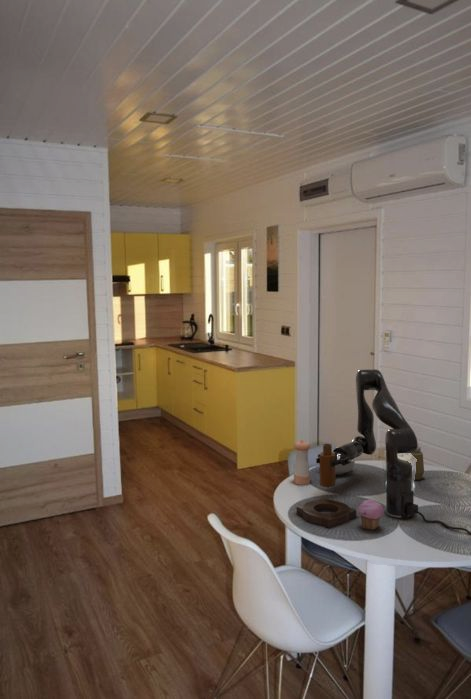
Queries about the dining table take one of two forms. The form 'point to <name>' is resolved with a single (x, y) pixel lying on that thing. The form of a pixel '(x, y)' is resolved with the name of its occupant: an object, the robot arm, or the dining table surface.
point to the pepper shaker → (301, 463)
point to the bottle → (327, 467)
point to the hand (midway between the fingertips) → (324, 462)
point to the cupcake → (370, 514)
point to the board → (327, 519)
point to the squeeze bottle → (418, 463)
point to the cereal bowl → (344, 467)
